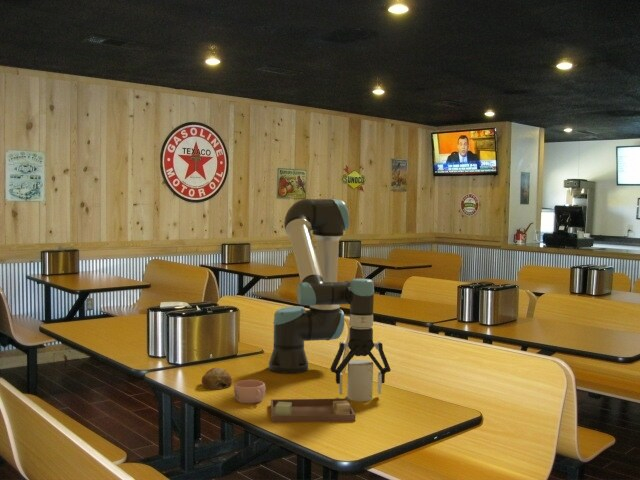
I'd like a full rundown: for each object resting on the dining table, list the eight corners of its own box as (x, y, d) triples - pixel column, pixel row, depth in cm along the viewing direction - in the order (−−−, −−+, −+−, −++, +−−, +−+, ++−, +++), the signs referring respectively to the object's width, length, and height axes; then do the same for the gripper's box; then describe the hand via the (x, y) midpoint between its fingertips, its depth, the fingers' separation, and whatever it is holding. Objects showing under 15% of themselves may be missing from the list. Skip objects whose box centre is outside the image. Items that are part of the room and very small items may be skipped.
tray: (270, 407, 206) (270, 399, 206) (347, 406, 208) (347, 398, 208) (272, 424, 190) (272, 416, 190) (355, 423, 192) (355, 414, 192)
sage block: (278, 414, 197) (278, 401, 196) (291, 415, 196) (292, 402, 196) (275, 419, 193) (275, 405, 192) (288, 420, 192) (289, 406, 192)
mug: (228, 400, 212) (228, 381, 212) (255, 395, 218) (255, 377, 218) (246, 410, 202) (246, 391, 202) (274, 405, 208) (274, 386, 208)
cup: (370, 404, 211) (371, 366, 210) (345, 402, 213) (346, 364, 212) (373, 396, 219) (374, 360, 218) (349, 394, 221) (350, 359, 220)
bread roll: (208, 400, 224) (214, 381, 221) (194, 382, 230) (199, 363, 227) (233, 395, 230) (238, 377, 227) (218, 377, 237) (224, 359, 234)
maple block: (332, 414, 198) (333, 401, 198) (345, 413, 199) (345, 400, 199) (336, 418, 194) (337, 405, 194) (349, 417, 195) (350, 404, 195)
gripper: (325, 329, 209) (323, 397, 211) (400, 329, 212) (399, 396, 213) (322, 324, 217) (321, 390, 218) (395, 324, 219) (394, 389, 221)
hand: (359, 393), depth 216 cm, fingers open, 12 cm apart
